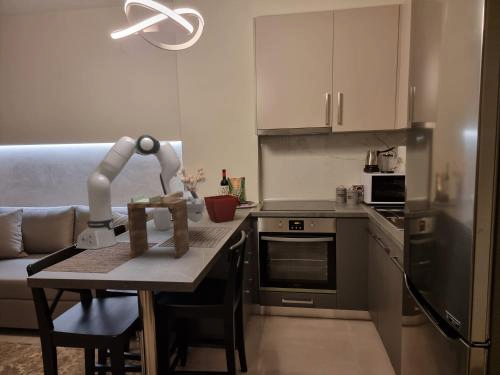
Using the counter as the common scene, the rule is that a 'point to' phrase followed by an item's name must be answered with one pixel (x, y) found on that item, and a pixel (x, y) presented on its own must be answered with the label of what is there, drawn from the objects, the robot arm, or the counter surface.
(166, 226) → the mug
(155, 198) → the sage channel
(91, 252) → the counter surface
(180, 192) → the batten
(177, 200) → the walnut shelf
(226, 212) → the plant pot
